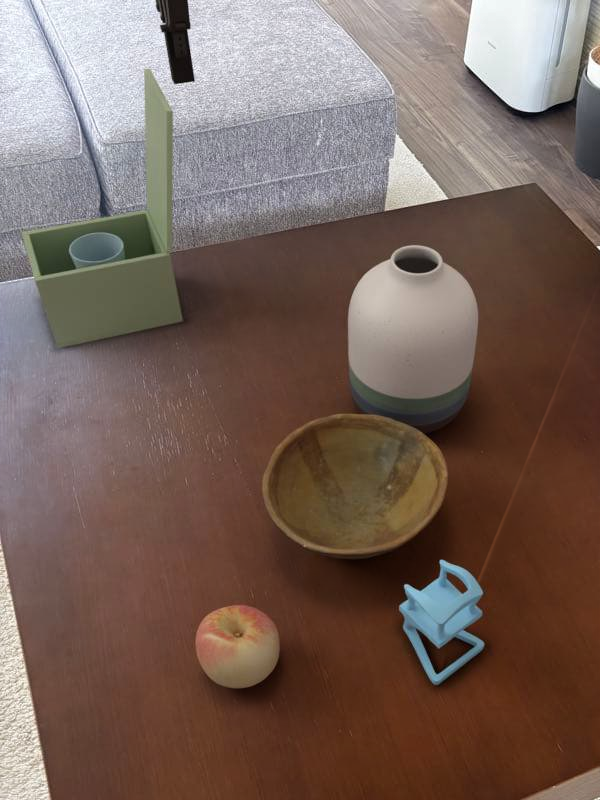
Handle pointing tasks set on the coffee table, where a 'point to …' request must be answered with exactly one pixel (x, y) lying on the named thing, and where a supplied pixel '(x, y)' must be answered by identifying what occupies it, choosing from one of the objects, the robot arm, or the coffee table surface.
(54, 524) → the coffee table surface
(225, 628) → the apple
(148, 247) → the chest
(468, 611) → the chair
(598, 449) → the coffee table surface
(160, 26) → the robot arm
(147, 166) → the lid
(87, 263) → the cup
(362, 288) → the vase
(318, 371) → the coffee table surface
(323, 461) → the bowl
